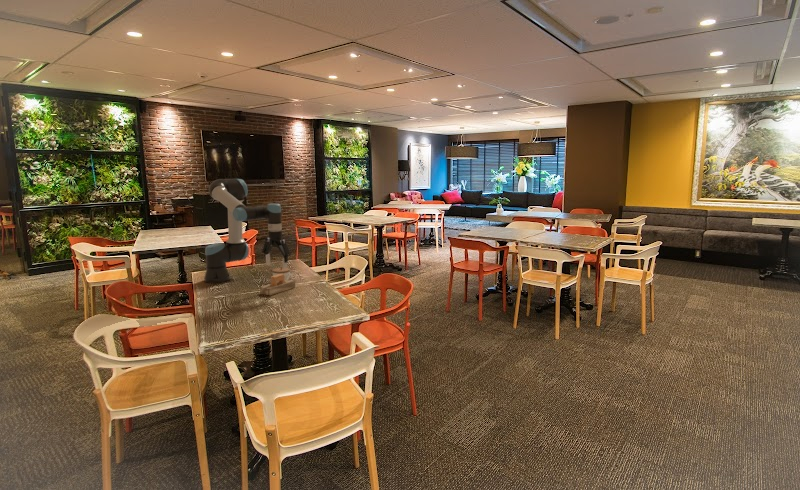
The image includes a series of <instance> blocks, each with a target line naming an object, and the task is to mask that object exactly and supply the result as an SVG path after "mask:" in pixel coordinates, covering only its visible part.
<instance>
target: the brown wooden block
mask: <svg viewBox="0 0 800 490" xmlns="http://www.w3.org/2000/svg"><path fill="white" fill-rule="evenodd" d="M294 288H296V280H293V279H288V280H287V279H285V283H283V284H282V283H279V281H278V282H277V286H272V285H271V283H269V284H265V285H262V286H259V291H260V292H259V293H260V294H261V295H265V296H273V295H276V294H279V293H283V292H285V291H289V290H291V289H294Z"/></svg>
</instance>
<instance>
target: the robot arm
mask: <svg viewBox="0 0 800 490" xmlns="http://www.w3.org/2000/svg"><path fill="white" fill-rule="evenodd" d="M248 190H249V189H248V186H247V183H246V181H244V179H242V178H219V179H218V178H217V179H215V180H213V181H212V182H211V183H210V184H209V187H208V193H209V195H210V197H211V198H212V199H214V201H217V202H220V204H222V205H223V206H224V207H225V208H227V226H228V229H227V231H228V232H227V233H228V239H227V240H226V244H225V243H224V242H217V243H212V244H209V245H207V246H206V247H205V248H204V255H205V264H206V267H205V268H206V271H205V275H204V282H205V283H209V284H214V283H215V284H217V283H223V282H228V281H229V280H230V279H231V275H230V273H229V270H228V269H227V263H232V262H237V261H238V262H239V261H243V260H244V261H245V260H246V259H247V258H248V256H249V253H250V247H249V245H248V243H247V242H246V240H245V239H244V238H243V222H246V221H247V222H248V221H257V220H267V229H268V235H267V236H268V237H265V239H264V240H265V242H264V245H263V247H262V251H261V252H262V254H264V259H265V266H270V265H271V251H272V250H273V247H275V248H277V249H278V250H279V252H280V253H281V255H282V268H288V261H289V257H291V253H290V249H289V247H288V245H287V240H286V239H282V237H283V231H282V230H283V225H282V223H283V222H282V206H281V204H280V203H267V205H264V204H263V205H257V206H246V205H245V204H244V203H243V202H244V201H245V198H246V197H247V196H248V192H249V191H248Z"/></svg>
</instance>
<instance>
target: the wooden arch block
mask: <svg viewBox="0 0 800 490" xmlns="http://www.w3.org/2000/svg"><path fill="white" fill-rule="evenodd" d="M278 281H279V283H282V284H283V283H285V277H284V274H278V275H275V276H273V275H272V276H270V284H271V285H272V286H277V282H278Z"/></svg>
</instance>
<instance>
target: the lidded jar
mask: <svg viewBox="0 0 800 490" xmlns="http://www.w3.org/2000/svg"><path fill="white" fill-rule="evenodd" d="M278 274H284V277H285V279H287V280H290V277H291V268H288V267H287V268H283V266H280V267H278V268H273V269H272V276H275V275H278Z"/></svg>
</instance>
